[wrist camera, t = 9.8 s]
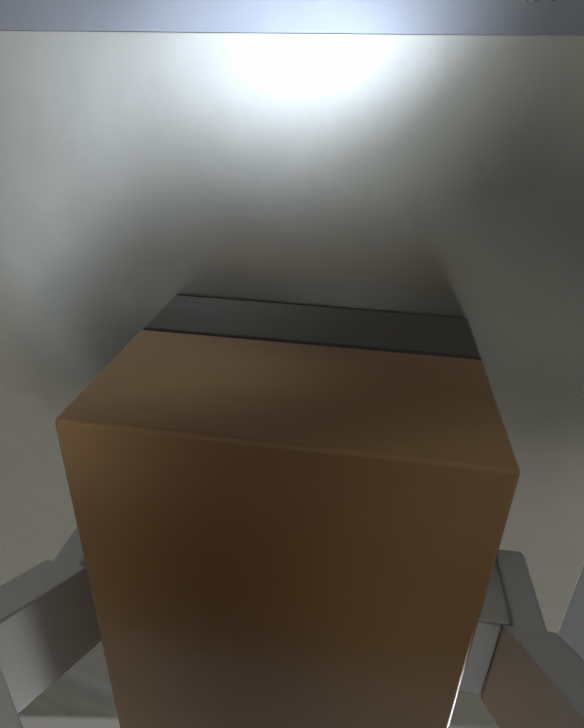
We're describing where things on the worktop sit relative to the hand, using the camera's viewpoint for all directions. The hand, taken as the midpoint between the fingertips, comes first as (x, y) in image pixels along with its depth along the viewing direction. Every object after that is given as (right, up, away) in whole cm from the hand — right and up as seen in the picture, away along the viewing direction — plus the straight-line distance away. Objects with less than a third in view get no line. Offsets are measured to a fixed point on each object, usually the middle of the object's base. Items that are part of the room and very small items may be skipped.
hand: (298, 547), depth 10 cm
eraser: (0, +1, +1) cm, 1 cm away
